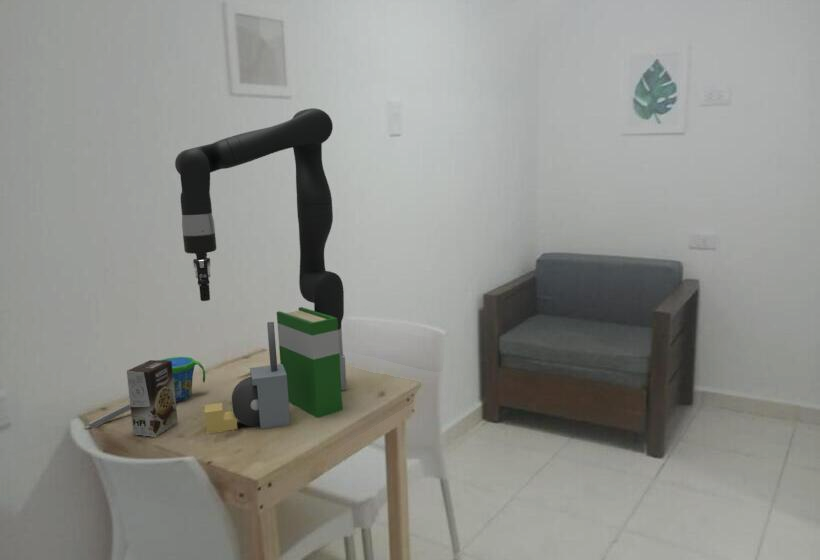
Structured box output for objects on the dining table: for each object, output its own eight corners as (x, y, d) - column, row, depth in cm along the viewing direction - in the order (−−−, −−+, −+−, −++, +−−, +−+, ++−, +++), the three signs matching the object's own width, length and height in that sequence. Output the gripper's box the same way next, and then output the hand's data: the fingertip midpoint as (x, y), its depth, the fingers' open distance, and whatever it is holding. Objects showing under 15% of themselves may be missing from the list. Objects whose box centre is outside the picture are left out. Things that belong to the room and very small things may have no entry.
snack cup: (207, 387, 189) (204, 353, 187) (206, 400, 179) (203, 364, 177) (149, 395, 184) (145, 359, 183) (145, 408, 174) (140, 371, 173)
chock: (236, 422, 163) (234, 401, 162) (237, 430, 159) (235, 408, 158) (207, 426, 161) (204, 405, 160) (206, 434, 157) (204, 412, 156)
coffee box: (156, 438, 155) (148, 372, 152) (132, 435, 157) (124, 370, 154) (179, 422, 164) (172, 360, 161) (156, 420, 166) (149, 358, 163)
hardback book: (283, 399, 178) (276, 311, 173) (307, 392, 182) (301, 307, 178) (317, 417, 164) (311, 323, 160) (342, 410, 169) (337, 318, 164)
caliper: (162, 405, 177) (159, 382, 176) (164, 406, 176) (161, 383, 175) (83, 429, 162) (80, 405, 161) (85, 431, 162) (82, 406, 160)
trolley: (286, 411, 169) (279, 317, 164) (290, 424, 160) (283, 325, 156) (233, 418, 165) (224, 322, 161) (234, 432, 157) (225, 331, 152)
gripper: (215, 234, 157) (221, 301, 160) (214, 228, 170) (220, 290, 173) (182, 236, 154) (189, 304, 158) (183, 230, 168) (190, 293, 171)
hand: (205, 297), depth 165 cm, fingers open, 8 cm apart
